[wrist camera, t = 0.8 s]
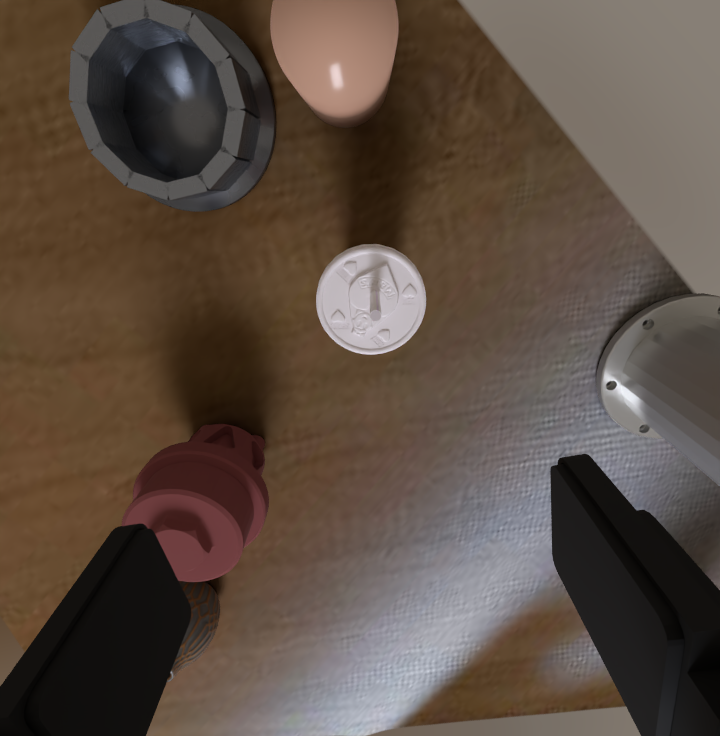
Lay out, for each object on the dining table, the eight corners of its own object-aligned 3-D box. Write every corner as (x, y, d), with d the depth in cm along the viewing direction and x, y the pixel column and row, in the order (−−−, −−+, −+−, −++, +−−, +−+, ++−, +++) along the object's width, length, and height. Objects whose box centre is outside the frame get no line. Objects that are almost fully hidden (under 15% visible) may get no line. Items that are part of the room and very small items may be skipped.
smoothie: (425, 249, 32) (462, 289, 20) (392, 324, 35) (405, 404, 22) (346, 216, 32) (331, 235, 19) (318, 295, 34) (286, 360, 21)
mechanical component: (242, 508, 42) (156, 449, 40) (306, 445, 39) (218, 378, 37) (195, 624, 31) (71, 552, 29) (281, 549, 28) (151, 462, 26)
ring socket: (244, -15, 27) (218, -56, 22) (296, 189, 31) (284, 190, 27) (69, 37, 28) (12, 9, 23) (144, 227, 32) (108, 233, 28)
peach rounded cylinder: (380, 8, 27) (384, -72, 19) (397, 115, 29) (408, 86, 21) (288, 34, 27) (253, -32, 19) (312, 137, 30) (290, 117, 21)
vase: (220, 619, 49) (190, 705, 41) (160, 604, 48) (117, 688, 40) (233, 578, 46) (205, 660, 38) (170, 561, 45) (127, 641, 37)
